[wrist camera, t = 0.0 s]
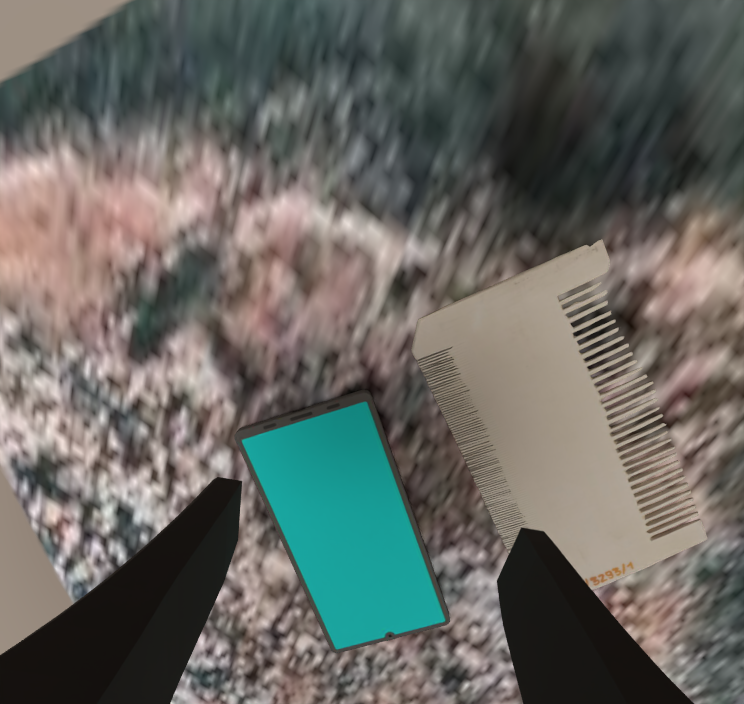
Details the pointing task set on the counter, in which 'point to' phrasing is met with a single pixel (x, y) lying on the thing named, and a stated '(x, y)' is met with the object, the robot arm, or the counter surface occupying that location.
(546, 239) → the counter surface
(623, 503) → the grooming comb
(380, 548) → the smartphone
